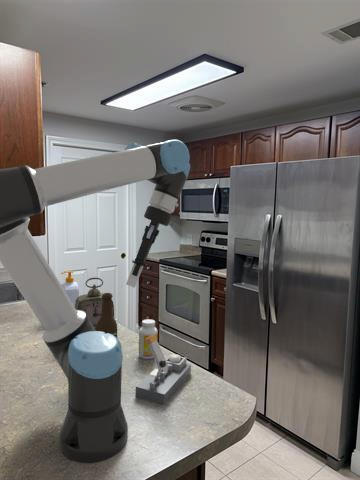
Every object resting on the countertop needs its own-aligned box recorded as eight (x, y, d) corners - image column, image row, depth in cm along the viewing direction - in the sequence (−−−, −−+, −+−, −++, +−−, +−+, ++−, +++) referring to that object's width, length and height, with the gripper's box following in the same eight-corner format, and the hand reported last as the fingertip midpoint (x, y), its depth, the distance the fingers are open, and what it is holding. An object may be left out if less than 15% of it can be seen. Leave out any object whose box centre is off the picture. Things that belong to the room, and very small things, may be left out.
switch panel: (190, 373, 112) (191, 358, 111) (164, 404, 93) (164, 387, 93) (165, 367, 115) (166, 353, 115) (135, 396, 97) (136, 379, 96)
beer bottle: (112, 368, 113) (113, 297, 111) (90, 365, 114) (91, 295, 112) (120, 358, 120) (122, 292, 118) (100, 356, 122) (101, 290, 120)
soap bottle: (58, 318, 161) (58, 270, 159) (73, 316, 165) (73, 269, 163) (63, 324, 154) (63, 273, 152) (78, 321, 157) (79, 272, 155)
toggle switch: (158, 384, 98) (168, 361, 96) (155, 387, 96) (165, 364, 94) (153, 380, 99) (162, 357, 97) (149, 383, 97) (159, 360, 95)
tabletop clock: (76, 344, 131) (77, 280, 129) (73, 336, 140) (74, 276, 137) (113, 340, 137) (115, 278, 135) (108, 332, 146) (109, 274, 143)
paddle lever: (171, 370, 105) (155, 333, 107) (166, 375, 102) (149, 337, 103) (166, 371, 106) (150, 335, 107) (161, 377, 102) (144, 339, 104)
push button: (182, 361, 111) (182, 355, 111) (177, 365, 108) (177, 359, 108) (171, 359, 113) (172, 353, 112) (167, 363, 109) (167, 357, 109)
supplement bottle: (160, 356, 124) (161, 321, 123) (147, 361, 119) (148, 325, 118) (148, 350, 128) (149, 317, 127) (134, 355, 124) (135, 320, 123)
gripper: (172, 212, 92) (140, 294, 92) (172, 215, 105) (144, 287, 105) (146, 202, 92) (114, 284, 92) (150, 206, 105) (121, 278, 105)
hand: (130, 285), depth 98 cm, fingers closed
